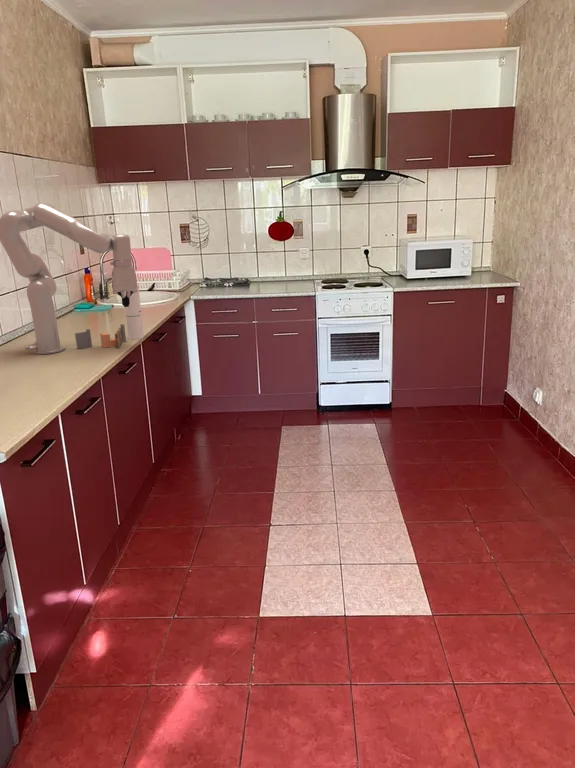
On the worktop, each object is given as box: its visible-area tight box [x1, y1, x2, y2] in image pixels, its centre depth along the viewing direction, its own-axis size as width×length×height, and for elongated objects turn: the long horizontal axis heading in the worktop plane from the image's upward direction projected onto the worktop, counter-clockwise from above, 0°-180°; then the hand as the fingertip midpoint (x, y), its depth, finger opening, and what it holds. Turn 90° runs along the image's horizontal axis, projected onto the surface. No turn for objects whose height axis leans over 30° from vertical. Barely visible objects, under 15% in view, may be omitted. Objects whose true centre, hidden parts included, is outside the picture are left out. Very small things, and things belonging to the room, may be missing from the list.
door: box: [114, 327, 123, 349], centre depth 265 cm, size 14×1×6 cm, turn 8°
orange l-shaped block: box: [99, 332, 116, 348], centre depth 264 cm, size 6×4×6 cm
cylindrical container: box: [124, 283, 145, 340], centre depth 276 cm, size 7×7×25 cm
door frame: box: [74, 323, 127, 350], centre depth 266 cm, size 22×2×8 cm, turn 124°
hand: (126, 306), depth 258 cm, fingers closed
